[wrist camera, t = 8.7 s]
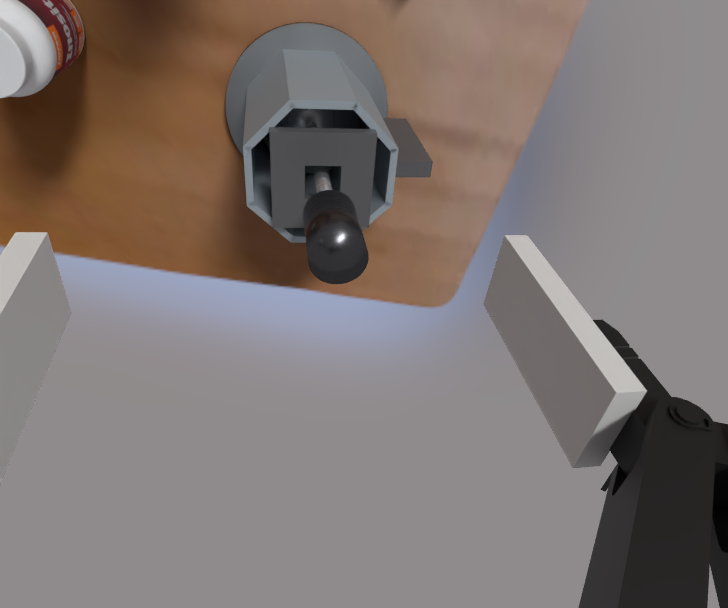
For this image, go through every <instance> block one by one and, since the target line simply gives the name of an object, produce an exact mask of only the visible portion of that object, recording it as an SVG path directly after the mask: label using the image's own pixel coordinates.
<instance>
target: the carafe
mask: <svg viewBox="0 0 728 608" xmlns="http://www.w3.org/2000/svg"><path fill="white" fill-rule="evenodd" d="M293 108H301V109H337V110H354V111H355V112H356V113H357V114H358V115H359V122H360V128H359V129H341V128H294V127H275V126H276V125H277V124H278V123H279V122H280V121H281V120H282V119H283V118H284V117H285V116H286V115H287V114H288V113H289V112H290V111H291V110H292V109H293ZM268 132H269V134H270V151H269V149H268V147H267V145H266V143H265V140H264V136H265V135H266V134H267V133H268ZM243 155H244V170H245V185H246V200H247V207H249V208H250V209H251V210H252V211H253V212H255V213H256V214H257V215H258V216H259V217H261V218H262V219H263V220H264V221H265V222H267V223H268V224H269V225H270V226H271V227H273V228H274V229H275V230H276V231H277V232H279V233H280V234H281V235H282V236H284V237H285V238H286V239H287V240H288V241H290V242H291V243H306V238H305V230H304V222H303V209H304V206H305V204H306V202H307V201H308V200H309V199H310V197H312V196H313V195H314V194H316V193H317V190H316V184H315V179H314V173H305V166H336V167H334V168H332V169H330V170H328V174H329V178H330V183H331V187H332V190H336V191H340V192H342V193H344V194H346V195H347V196H348V197H349V198H350V199H351V200H352V202H353V204H354V206H355V209H356V213H357V216H358V220H359V223H360V227H361V230H363V229H364V228H366V227H369V224H370V223H372V222H373V221H374V220H375V219H376V218H378V217H379V216H380V215H381V214H382V213H384V212H385V211H386V210H387V209H388V208H390V207H391V206H392V200H393V192H394V183H395V177H430V175H431V169H432V163H433V161H432V160H431V158H430V157H429V155H428V153H427V152H426V150H425V149H424V147H423V145H422V144H421V142H420V140H419V139H418V137H417V136H416V134H415V132H414V131H413V129H412V128H411V126H410V124H409V123H408V121H407V120H406V119H390V118H382V116H381V114H380V112H379V110H378V108H377V106H376V105H375V103H374V101H373V99H372V97H371V95H370V93H369V91H368V90H367V88H366V87H365V86H364V85H363V84H362V83H361V81H360V80H359V79H358V78H357V77H356V75H355V74H354V73H353V72H352V71H351V70H350V68H349V67H348V66H347V65H346V64H345V62H344V61H343V60H342V59H341V58H340V57H339V55H338V54H337V53H336V52H335V51H313V50H291V49H283V50H282V51H281V52H280V53H279V54H278V55H277V56H276V57H275V58H274V59H273V60H272V61H271V62H270V63H269V64H268V65H267V66H266V67H265V68H264V69H263V70H262V71H261V73H260V74H259V75H258V76H257V77H256V78H255V79H254V80H253V81H252V82H251V83H250V84H249V85H248V86H247V96H246V110H245V125H244V139H243Z"/></svg>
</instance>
